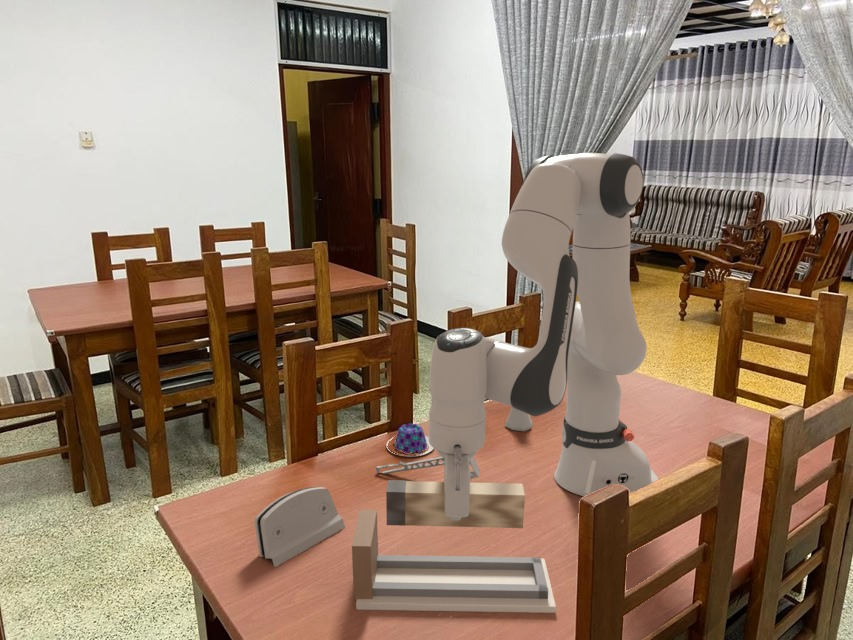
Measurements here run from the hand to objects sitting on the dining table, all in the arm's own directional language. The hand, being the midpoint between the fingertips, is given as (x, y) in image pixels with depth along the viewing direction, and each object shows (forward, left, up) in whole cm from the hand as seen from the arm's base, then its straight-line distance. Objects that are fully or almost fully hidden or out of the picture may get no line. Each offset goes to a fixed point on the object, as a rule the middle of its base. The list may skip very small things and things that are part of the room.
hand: (455, 509), depth 104 cm
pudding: (+10, -50, -15) cm, 53 cm away
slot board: (0, 0, -15) cm, 15 cm away
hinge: (+29, -13, -15) cm, 35 cm away
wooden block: (0, 0, -2) cm, 2 cm away
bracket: (+5, -35, -15) cm, 39 cm away
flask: (-18, -62, -15) cm, 66 cm away
